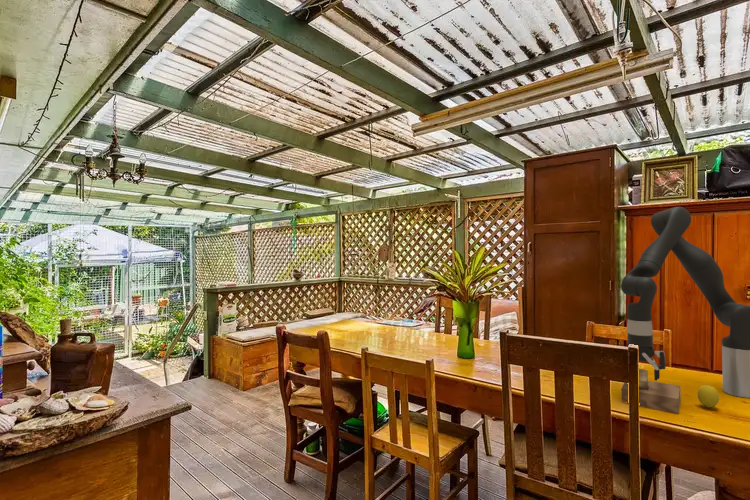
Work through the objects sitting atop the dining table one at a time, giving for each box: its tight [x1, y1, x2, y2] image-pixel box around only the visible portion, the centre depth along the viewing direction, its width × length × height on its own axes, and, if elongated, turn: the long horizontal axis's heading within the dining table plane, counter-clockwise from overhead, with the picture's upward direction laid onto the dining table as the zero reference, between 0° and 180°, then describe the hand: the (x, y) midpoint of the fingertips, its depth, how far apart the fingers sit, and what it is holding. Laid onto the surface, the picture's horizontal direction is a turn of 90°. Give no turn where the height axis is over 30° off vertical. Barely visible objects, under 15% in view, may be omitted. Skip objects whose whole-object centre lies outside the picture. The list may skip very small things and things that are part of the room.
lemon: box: [697, 383, 720, 409], centre depth 131 cm, size 6×6×8 cm
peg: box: [638, 368, 649, 390], centre depth 138 cm, size 4×4×11 cm
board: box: [620, 380, 682, 415], centre depth 138 cm, size 16×15×5 cm
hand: (641, 377), depth 138 cm, fingers open, 8 cm apart
